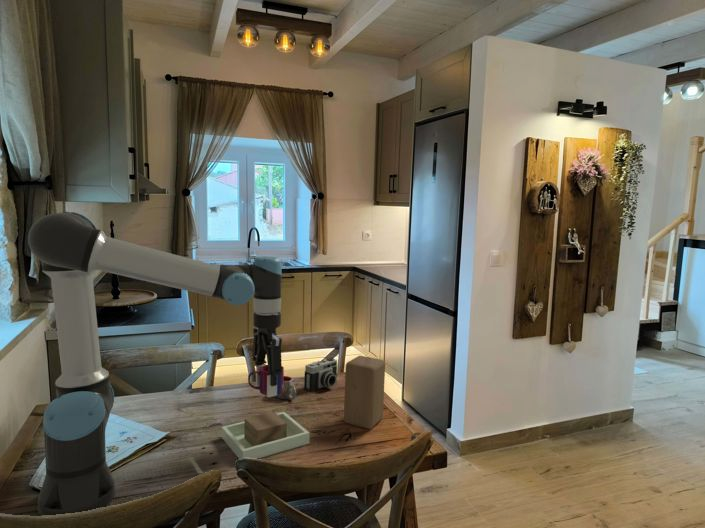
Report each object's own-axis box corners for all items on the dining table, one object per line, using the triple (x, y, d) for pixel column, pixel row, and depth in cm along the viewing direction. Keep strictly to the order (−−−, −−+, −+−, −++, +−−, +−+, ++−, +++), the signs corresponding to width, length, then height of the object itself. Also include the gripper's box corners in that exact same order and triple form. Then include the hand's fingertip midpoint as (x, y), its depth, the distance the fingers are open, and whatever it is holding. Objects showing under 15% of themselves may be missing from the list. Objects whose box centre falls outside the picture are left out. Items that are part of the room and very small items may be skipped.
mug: (272, 394, 171) (272, 376, 170) (289, 390, 174) (289, 373, 173) (285, 406, 161) (285, 388, 160) (303, 402, 164) (303, 384, 163)
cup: (284, 394, 132) (285, 371, 131) (248, 397, 130) (248, 373, 129) (282, 385, 139) (282, 363, 138) (247, 388, 136) (247, 365, 135)
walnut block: (257, 451, 129) (257, 430, 128) (244, 437, 136) (244, 418, 136) (286, 443, 134) (286, 423, 134) (272, 430, 142) (273, 411, 141)
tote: (242, 465, 123) (243, 451, 123) (221, 440, 136) (221, 426, 136) (309, 445, 135) (309, 432, 134) (283, 423, 148) (284, 411, 147)
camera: (315, 395, 171) (315, 368, 170) (301, 388, 178) (301, 362, 177) (345, 387, 180) (345, 361, 179) (330, 380, 187) (330, 356, 186)
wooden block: (342, 423, 150) (344, 362, 147) (356, 411, 159) (359, 354, 156) (370, 430, 145) (373, 368, 143) (383, 418, 154) (386, 359, 152)
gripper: (296, 318, 125) (294, 401, 128) (264, 304, 141) (263, 378, 144) (270, 321, 121) (268, 406, 123) (240, 306, 137) (240, 382, 139)
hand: (266, 391), depth 134 cm, fingers closed on cup, 7 cm apart
